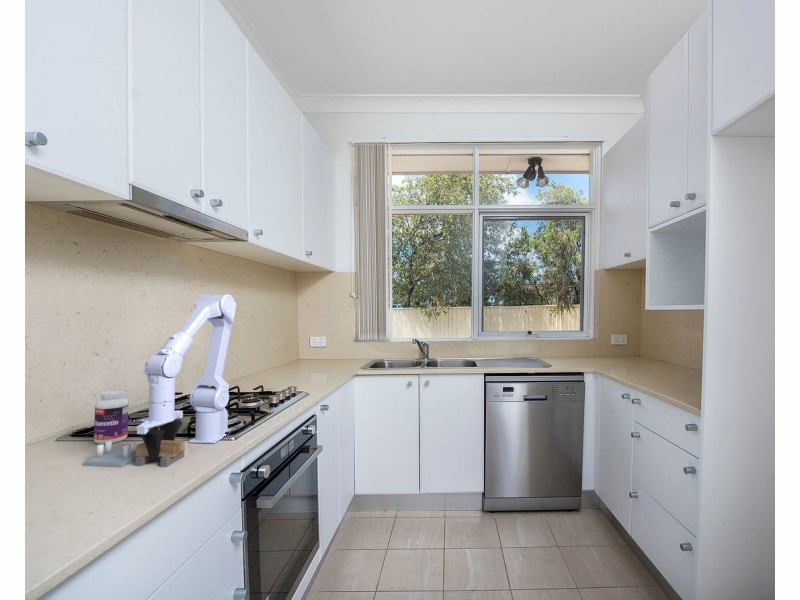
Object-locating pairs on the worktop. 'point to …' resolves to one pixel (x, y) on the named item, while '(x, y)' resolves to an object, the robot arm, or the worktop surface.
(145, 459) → the board rack
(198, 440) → the robot arm
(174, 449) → the shelf board
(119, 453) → the peg base
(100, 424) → the pill bottle
